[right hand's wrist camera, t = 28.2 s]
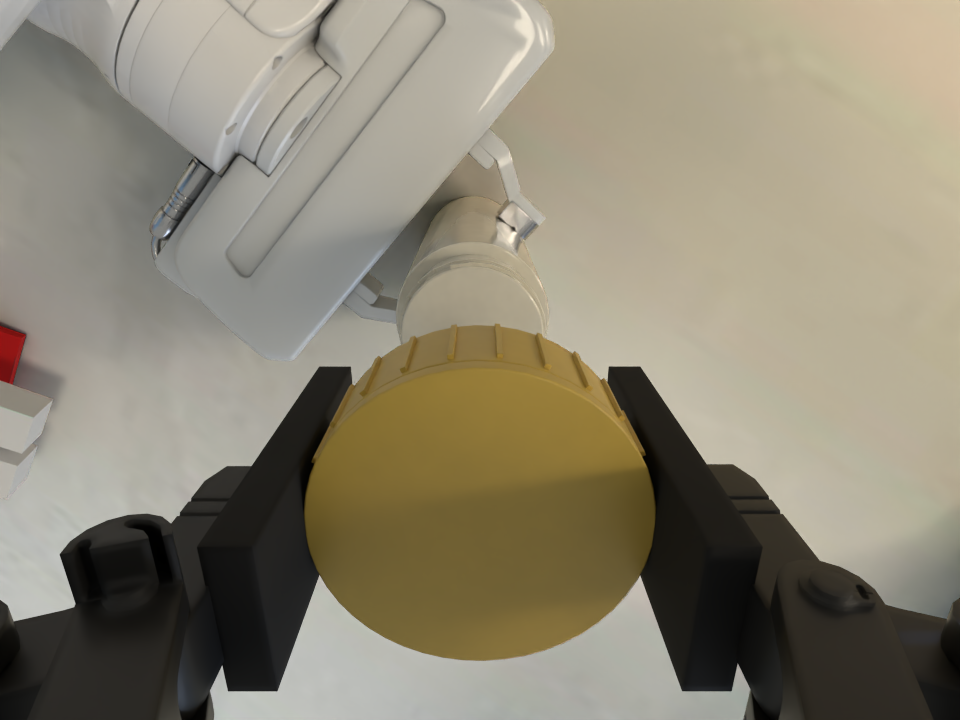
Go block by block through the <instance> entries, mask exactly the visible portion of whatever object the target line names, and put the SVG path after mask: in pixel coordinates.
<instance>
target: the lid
mask: <svg viewBox="0 0 960 720" xmlns="http://www.w3.org/2000/svg"><path fill="white" fill-rule="evenodd" d="M645 455H646V454H645V451H644V449H643V447H642V445H641V443H640V442H639V440H638V438H637V436H636V434H635V432H634V430H633V428H632V426H631V424H630V422H629V420H628V418H627V416H626V414H625V412H624V411H623V410H622V411H621V409H620V407H619V405H618V403H617V401H616V399H615V397H614V395H613V393H612V391H611V389H610V387H609V385H608V383H607V381H606V380H605V379H604V378H603V379H602V380H600V378H599V377H598V376H597V375H596V374H595V373H594V372H593V371H592V370H591V369H590V368H589V367H588V366H587V365H586V364H585V363H584V362H582V361H581V359H580V356H579V354H578V353H576V352H574V353H573V354H572V353H571V352H569V351H568V350H566V349H564V348H563V347H561V346H559V345H558V344H556V343H554V342H552V341H549V340H547V339H545V338H543V336H542V334H540V333H537V334H536V335H535V334H532V333H528V332H525V331H521V330H518V329H512V328H506V327H501V326H500V324H496V323H495V326H485V325H472V326H460V327H457V324H455V325H451V328H448V329H443V330H438V331H434V332H431V333H428V334H425V335H423V336H420V337H417V338H416V336H412V337H410V340H409V341H408V342H406V343H404V344H402V345H401V346H399V347H397V348H395V349H394V350H392V351H391V352H389V353H388V354H386V355H385V356H384V357H382V358H380V357H379V356H378V357H377V358H376V359H375V360H374V363H373V365H372V367H371V368H370V369H369V370H367V371H366V373H365V374H364V375H363V376H362V377H361V379H360V380H359V381H358V382H357V383H356V385H355V386H354V385H352V384H351V385H350V386H349V388H348V390H347V392H346V394H345V396H344V398H343V400H342V402H341V404H340V406H339V408H338V410H337V411H336V413H335V415H334V417H333V419H332V421H331V423H330V426H329V427H328V429H327V431H326V433H325V435H324V437H323V439H322V441H321V443H320V445H319V447H318V449H317V451H316V453H315V455H314V457H313V459H312V463H315V464H314V466H313V468H312V471H311V473H310V476H309V480H308V484H307V488H306V493H305V501H304V522H305V530H306V537H307V543H308V547H309V551H310V554H311V557H312V559H313V562H314V564H315V567H316V569H317V571H318V573H319V575H320V576H321V578H322V580H323V581H324V583H325V585H326V586H327V588H328V589H329V590H330V592H331V593H332V594H333V595H334V597H335V598H336V599H337V601H338V602H339V603H340V604H341V605H342V606H343V607H344V608H345V609H346V610H347V611H348V612H349V613H350V614H351V615H352V616H354V617H355V618H356V619H358V620H359V621H360V622H362V623H363V624H364V625H365V626H367V627H368V628H370V629H371V630H373V631H375V632H376V633H378V634H380V635H381V636H383V637H385V638H387V639H389V640H391V641H393V642H395V643H397V644H400V645H402V646H404V647H407V648H410V649H413V650H416V651H419V652H422V653H425V654H430V655H434V656H438V657H443V658H450V659H458V660H475V661H488V660H502V659H510V658H516V657H522V656H527V655H530V654H534V653H538V652H541V651H545V650H547V649H550V648H553V647H555V646H558V645H560V644H563V643H565V642H567V641H569V640H571V639H573V638H575V637H577V636H579V635H581V634H582V633H584V632H585V631H587V630H588V629H590V628H591V627H593V626H594V625H596V624H597V623H599V622H600V621H601V620H602V619H603V618H605V617H606V616H607V615H608V614H609V613H611V612H612V611H613V610H614V609H615V608H616V607H617V605H618V604H619V603H620V602H621V601H622V600H623V599H624V598H625V597H626V596H627V594H628V593H629V591H630V590H631V589H632V587H633V586H634V584H635V583H636V581H637V580H638V578H639V576H640V574H641V572H642V570H643V568H644V566H645V564H646V562H647V559H648V556H649V553H650V550H651V547H652V541H653V534H654V527H655V518H656V502H655V495H654V488H653V484H652V481H651V478H650V474H649V471H648V468H647V466H646V464H645V462H644V460H643V458H642V456H645Z"/></svg>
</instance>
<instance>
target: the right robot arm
mask: <svg viewBox="0 0 960 720" xmlns="http://www.w3.org/2000/svg"><path fill="white" fill-rule="evenodd" d="M607 383H608V385H609V387H610V389H611V391H612V393H613V395H614V397H615V399H616V401H617V403H618V405H619V407H620V409H621V411H622V410H623V411H624V412H625V414H626V416H627V418H628V420H629V422H630V424H631V426H632V428H633V430H634V432H635V434H636V436H637V438H638V440H639V442H640V443H641V445H642V447H643V449H644V451H645V454H646V455H645V456H642V458H643V460H644V462H645V464H646V466H647V468H648V471H649V474H650V478H651V481H652V484H653V488H654V495H655V502H656V518H655V527H654V534H653V541H652V547H651V550H650V553H649V556H648V559H647V562H646V564H645V566H644V568H643V570H642V572H641V574H640V576H641V578H642V581H643V584H644V587H645V589H646V592H647V595H648V598H649V600H650V603H651V606H652V609H653V612H654V614H655V617H656V620H657V623H658V625H659V628H660V631H661V634H662V636H663V639H664V642H665V645H666V648H667V650H668V653H669V656H670V659H671V661H672V664H673V667H674V670H675V672H676V675H677V678H678V681H679V684H680V686H681V689H682V691H732V687H733V682H734V677H735V673H736V668H737V664H739V666H740V668H741V670H742V673H743V675H744V677H745V679H746V681H747V683H748V685H749V687H750V694H749V698H748V702H747V706H746V711H745V715H744V719H743V720H960V598H959V599H957V600H956V601H955V602H953V604H952V607H951V609H950V612H949V615H948V617H947V619H944V618H939V617H935V616H930V615H926V614H921V613H917V612H912V611H908V610H903V609H899V608H895V607H891V606H888V605H885V603H884V602H883V600H882V599H881V598H880V596H879V595H878V593H877V592H876V590H875V589H874V588H872V587H871V586H870V585H869V584H867V583H866V582H865V581H864V580H863V579H861V578H860V577H859V576H857V575H855V574H853V573H851V572H849V571H847V570H845V569H843V568H841V567H839V566H835V565H832V564H829V563H825V562H822V561H819V559H818V558H817V557H816V555H815V554H814V553H813V552H812V550H811V549H810V548H809V547H808V545H807V544H806V543H805V542H804V540H803V539H802V538H801V537H800V535H799V534H798V533H797V531H796V530H795V529H794V528H793V526H792V525H791V524H790V523H789V521H788V520H787V519H786V518H785V516H784V515H783V514H780V510H779V509H778V507H777V506H776V505H775V504H774V502H773V501H772V500H769V496H768V495H767V494H766V492H765V491H764V490H763V488H762V487H761V486H760V485H759V483H758V482H757V481H756V480H755V479H754V478H753V477H751V476H750V475H748V474H747V473H745V472H744V471H742V470H741V469H739V468H738V467H736V466H735V465H733V464H706V463H705V461H704V460H703V458H702V457H701V455H700V454H699V452H698V451H697V449H696V448H695V446H694V445H693V444H692V442H691V441H690V439H689V438H688V436H687V435H686V433H685V432H684V430H683V429H682V427H681V426H680V424H679V423H678V422H677V420H676V419H675V417H674V416H673V414H672V413H671V411H670V410H669V408H668V407H667V405H666V404H665V402H664V401H663V399H662V398H661V397H660V395H659V394H658V392H657V391H656V389H655V388H654V386H653V385H652V383H651V382H650V380H649V379H648V377H647V376H646V374H645V373H644V372H643V370H642V369H641V367H609V371H608V382H607ZM351 384H352V375H351V367H319V368H318V370H317V371H316V372H315V374H314V375H313V377H312V378H311V380H310V381H309V383H308V384H307V386H306V387H305V389H304V390H303V392H302V393H301V394H300V396H299V397H298V399H297V400H296V402H295V403H294V405H293V406H292V408H291V409H290V411H289V412H288V414H287V415H286V417H285V418H284V419H283V421H282V422H281V424H280V425H279V427H278V428H277V430H276V431H275V433H274V434H273V436H272V437H271V439H270V440H269V442H268V443H267V444H266V446H265V447H264V449H263V450H262V452H261V453H260V455H259V456H258V458H257V459H256V461H255V462H254V464H253V465H252V466H227V467H225V468H224V469H222V470H221V471H219V472H218V473H216V474H215V475H213V476H212V477H210V478H209V479H207V480H206V481H204V483H203V484H202V485H201V487H200V488H199V489H198V490H197V492H196V493H195V494H194V495H193V497H192V498H191V502H188V503H187V504H186V506H185V507H184V508H183V509H182V511H181V512H180V516H177V517H176V518H175V520H174V521H173V522H172V523H169V522H168V521H167V520H166V519H164V518H163V517H161V516H156V515H151V514H136V515H127V516H123V517H119V518H115V519H111V520H107V521H105V522H103V523H101V524H98V525H96V526H94V527H92V528H90V529H87V530H86V531H84V532H83V533H82V534H80V535H79V536H77V537H76V538H74V539H73V540H72V541H70V542H69V544H68V545H67V546H66V547H65V548H64V550H63V551H62V552H61V553H60V557H61V560H62V563H63V566H64V569H65V572H66V575H67V578H68V581H69V585H70V588H71V591H72V594H73V597H74V600H75V603H76V605H75V607H74V608H70V609H67V610H63V611H59V612H55V613H50V614H46V615H41V616H37V617H32V618H28V619H23V620H19V621H13V619H12V616H11V613H10V611H9V608H8V606H7V605H6V604H5V603H3V602H2V601H1V600H0V720H214V709H213V703H212V698H211V694H210V689H211V687H212V685H213V683H214V681H215V679H216V677H217V675H218V673H219V671H220V668H221V666H222V665H223V670H224V675H225V679H226V684H227V688H228V691H278V688H279V685H280V683H281V680H282V677H283V674H284V671H285V669H286V666H287V663H288V660H289V658H290V655H291V652H292V649H293V647H294V644H295V641H296V638H297V635H298V633H299V630H300V627H301V624H302V622H303V619H304V616H305V613H306V611H307V608H308V605H309V602H310V599H311V597H312V594H313V591H314V588H315V586H316V583H317V580H318V577H319V573H318V571H317V569H316V567H315V564H314V562H313V559H312V557H311V554H310V551H309V547H308V543H307V537H306V530H305V522H304V501H305V493H306V488H307V484H308V480H309V476H310V473H311V471H312V468H313V466H314V464H315V463H312V459H313V457H314V455H315V453H316V451H317V449H318V447H319V445H320V443H321V441H322V439H323V437H324V435H325V433H326V431H327V429H328V427H329V426H330V423H331V421H332V419H333V417H334V415H335V413H336V411H337V410H338V408H339V406H340V404H341V402H342V400H343V398H344V396H345V394H346V392H347V390H348V388H349V386H350V385H351Z"/></svg>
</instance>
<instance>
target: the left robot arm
mask: <svg viewBox="0 0 960 720" xmlns="http://www.w3.org/2000/svg"><path fill="white" fill-rule="evenodd" d="M26 19H27V20H29V21H30V22H31V23H33V24H34V25H36V26H37V27H39V28H41V29H43V30H44V31H46V32H49V33H51V34H53V35H55V36H57V37H59V38H61V39H63V40H65V41H67V42H69V43H70V44H72V45H73V46H75V47H76V48H78V49H79V50H80V51H81V52H82V53H84V54H85V55H86V56H87V57H88V58H89V59H90V60H91V61H92V62H93V63H94V65H95V66H96V67H97V68H98V69H99V71H100V72H101V74H102V75H103V76H104V78H105V79H106V81H107V82H108V83H109V84H110V85H111V87H112V88H113V89H114V90H115V91H116V92H117V93H118V94H120V95H121V96H122V97H123V98H124V99H125V100H127V101H128V102H129V103H130V104H131V105H133V106H134V107H135V108H136V109H137V110H139V111H140V112H141V113H142V114H144V115H145V116H146V117H147V118H149V119H150V120H151V121H152V122H153V123H155V124H156V125H157V126H158V127H160V128H161V129H162V130H163V131H165V132H166V133H167V134H168V135H169V136H171V137H172V138H173V139H174V140H176V141H177V142H178V143H179V144H180V145H182V146H183V147H184V148H185V149H187V150H188V151H189V152H190V153H192V154H193V155H194V158H193V159H192V160H191V162H190V163H189V165H188V167H187V168H186V170H185V171H184V173H183V174H182V176H181V177H180V179H179V180H178V182H177V184H176V186H175V188H174V190H173V192H172V194H171V196H170V198H169V199H168V201H167V202H166V204H165V205H164V206H162V207H161V208H160V209H159V210H158V211H157V212H156V214H155V215H154V217H153V219H152V221H151V224H150V227H149V231H150V232H151V234H152V235H153V237H152V242H151V250H152V255H153V258H154V261H155V262H154V263H155V266H156V267H157V269H158V270H159V271H160V272H161V273H162V274H163V275H164V276H165V277H166V278H168V279H169V280H170V281H172V282H173V283H174V284H176V285H177V286H178V287H180V288H181V289H182V290H184V291H185V292H186V293H188V294H190V295H192V296H194V297H197V298H198V299H199V300H200V301H201V302H202V303H203V304H204V305H205V306H206V307H207V308H208V309H209V310H210V311H211V312H212V313H213V314H214V315H215V316H216V317H217V318H218V319H219V320H220V321H221V322H222V323H223V324H224V325H225V326H226V327H228V328H229V329H230V330H231V331H232V332H233V333H234V334H235V335H236V336H238V337H239V338H240V339H241V340H242V341H243V342H244V343H246V344H247V345H248V346H249V347H250V348H252V349H253V350H254V351H255V352H257V353H258V354H259V355H261V356H262V357H264V358H266V359H268V360H276V361H293V360H294V359H295V358H296V357H297V356H298V355H299V354H300V352H301V351H302V350H303V349H304V348H305V347H306V345H307V344H308V343H309V342H310V341H311V339H312V338H313V337H314V336H315V335H316V333H317V332H318V331H319V330H320V329H321V327H322V326H323V325H324V324H325V323H326V322H327V320H328V319H329V318H330V317H331V316H332V314H333V313H334V312H335V311H336V310H337V308H338V307H339V306H340V305H341V304H342V302H343V303H344V304H345V305H346V306H348V307H349V308H350V309H351V310H353V311H354V312H355V313H356V314H358V315H359V316H360V317H361V318H366V319H372V320H378V321H383V322H389V323H395V324H397V323H396V307H397V300H398V299H393V298H389V297H385V296H380V293H381V291H382V290H383V284H381V283H380V282H379V281H378V280H377V279H376V278H374V277H373V276H372V275H371V274H370V273H368V271H369V270H370V269H371V268H372V267H373V265H374V264H375V263H376V262H377V261H378V260H379V258H380V257H381V256H382V255H383V254H384V252H385V251H386V250H387V249H388V248H389V246H390V245H391V244H392V243H393V242H394V240H395V239H396V238H397V237H398V236H399V235H400V233H401V232H402V231H403V230H404V229H405V227H406V226H407V225H408V224H409V223H410V221H411V220H412V219H413V218H414V217H415V215H416V214H417V213H418V212H419V211H420V209H421V208H422V207H423V206H424V205H425V204H426V202H427V201H428V200H429V199H430V198H431V196H432V195H433V194H434V193H435V192H436V190H437V189H438V188H439V187H440V186H441V184H442V183H443V182H444V181H445V180H446V178H447V177H448V176H449V175H450V174H451V173H452V171H453V170H454V169H455V168H456V167H457V165H458V164H459V163H460V162H461V161H462V159H463V158H464V157H465V156H466V155H467V153H469V154H470V155H471V156H472V157H473V158H474V159H475V160H476V161H477V162H478V163H479V164H480V165H482V166H483V167H484V168H485V169H489V168H490V167H491V166H492V165H493V164H494V159H495V160H496V163H497V166H498V170H499V173H500V176H501V179H502V183H503V186H504V189H505V193H506V196H507V200H506V201H505V203H504V204H503V205H502V206H501V207H500V209H499V210H498V211H497V213H498V217H499V218H500V219H502V220H503V221H504V222H505V223H506V224H507V225H509V226H512V227H514V229H515V232H516V233H517V234H518V235H519V236H520V237H521V238H522V239H523V240H526V239H527V238H528V237H529V236H530V235H531V234H532V233H533V232H534V230H535V229H536V228H537V227H538V226H539V225H540V224H541V223H542V222H543V221H544V220H545V219H546V217H545V215H544V214H543V213H542V212H541V211H540V210H539V209H538V208H537V207H536V206H535V205H534V204H533V203H532V202H531V201H530V200H528V199H527V198H526V197H525V196H524V195H523V194H522V193H521V192H520V191H521V188H520V185H519V181H518V178H517V174H516V171H515V167H514V164H513V160H512V157H511V154H510V150H509V147H508V146H507V145H506V144H505V143H504V142H503V141H502V140H501V139H500V138H499V137H498V136H497V135H496V134H495V133H494V132H493V131H492V130H491V129H490V128H489V127H490V126H491V125H492V124H493V122H494V121H495V120H496V119H497V118H498V116H499V115H500V114H501V113H502V112H503V111H504V109H505V108H506V107H507V106H508V105H509V103H510V102H511V101H512V100H513V99H514V97H515V96H516V95H517V94H518V93H519V91H520V90H521V89H522V88H523V87H524V85H525V84H526V83H527V82H528V81H529V79H530V78H531V77H532V76H533V75H534V74H535V72H536V71H537V70H538V69H539V68H540V66H541V65H542V64H543V63H544V62H545V60H546V59H547V58H548V57H549V56H550V54H551V53H552V52H553V51H554V48H555V35H554V25H553V20H552V17H551V15H550V14H549V12H548V11H547V10H546V8H545V7H544V6H543V5H542V4H541V3H540V2H539V1H538V0H0V51H1V49H2V48H3V47H4V46H5V44H6V43H7V42H8V41H9V39H10V38H11V37H12V36H13V35H14V33H15V32H16V31H17V30H18V28H19V27H20V26H21V25H22V23H23V22H24V21H25V20H26ZM162 240H165V241H166V240H168V241H167V242H166V244H165V245H164V247H163V248H162V249H161V241H162Z"/></svg>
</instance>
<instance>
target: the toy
mask: <svg viewBox="0 0 960 720" xmlns="http://www.w3.org/2000/svg"><path fill="white" fill-rule="evenodd" d="M25 337H26V335H25V334H22V333H19V332H17V331H14V330H11V329H8V328H5V327H2V326H0V498H2V499H5V500H7V499H8V498H9V497H10V496H11V495H12V494H13V493H14V491H15V490H16V489H17V488H18V487H19V486H20V485H21V484H22V483H23V482H24V481H25V480H26V479H27V476H28V473H29V470H30V467H31V464H32V461H33V458H34V455H35V453H36V450H37V447H38V446H37V445H34V444H32V443H33V442H34V441H35V440H36V439H37V438H38V437H39V436H40V435H41V434H42V432H43V429H44V426H45V423H46V420H47V417H48V414H49V411H50V408H51V405H52V402H53V399H52V398H49V397H46V396H43V395H40V394H37V393H35V392H32V391H29V390H26V389H23V388H20V387H17V386H15V385H13V381H14V377H15V374H16V370H17V366H18V362H19V359H20V355H21V351H22V348H23V344H24V340H25Z"/></svg>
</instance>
